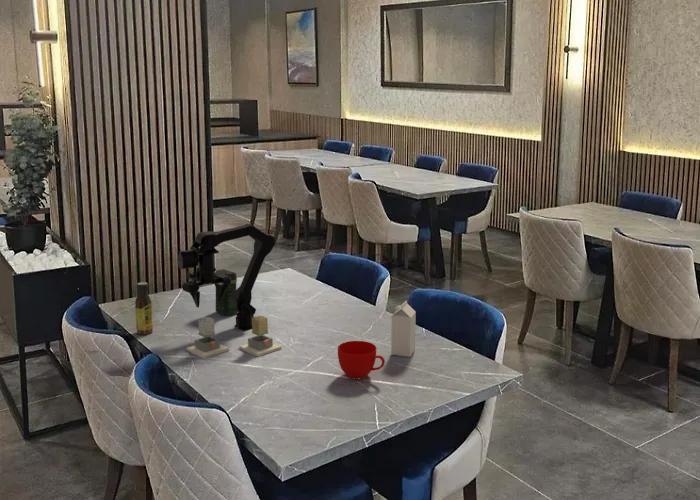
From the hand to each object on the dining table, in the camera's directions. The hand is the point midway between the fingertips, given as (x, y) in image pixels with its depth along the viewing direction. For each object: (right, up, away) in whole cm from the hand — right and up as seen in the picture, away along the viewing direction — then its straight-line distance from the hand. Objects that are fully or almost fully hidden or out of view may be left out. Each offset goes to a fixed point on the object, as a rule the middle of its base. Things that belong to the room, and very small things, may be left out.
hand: (207, 304), depth 287 cm
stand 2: (+22, -15, -12) cm, 29 cm away
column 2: (+22, -10, -13) cm, 27 cm away
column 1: (+3, -10, -15) cm, 18 cm away
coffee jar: (+3, -6, +28) cm, 29 cm away
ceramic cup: (+59, -22, -37) cm, 72 cm away
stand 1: (+3, -16, -14) cm, 21 cm away
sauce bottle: (-25, -11, +5) cm, 28 cm away
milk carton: (+74, -17, -16) cm, 77 cm away
